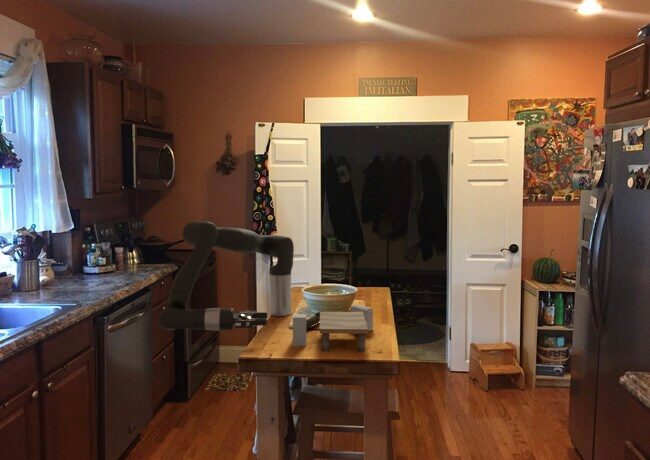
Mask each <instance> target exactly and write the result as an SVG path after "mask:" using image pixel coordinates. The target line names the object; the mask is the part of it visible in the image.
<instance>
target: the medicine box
mask: <svg viewBox="0 0 650 460" xmlns="http://www.w3.org/2000/svg"><path fill="white" fill-rule="evenodd" d="M350 312H363V314H364V317H365V321H366V324H367V328H368V332H370V331H373V330H374V308H373V307H370V306H366V305H361V304H356V305H352V306H350Z"/></svg>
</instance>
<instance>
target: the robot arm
mask: <svg viewBox="0 0 650 460" xmlns="http://www.w3.org/2000/svg"><path fill="white" fill-rule="evenodd" d="M182 237H183V239H184V240H183V241H185V242H186V243H187V244H188V245H190V246H192V247H194V248H193V250H192V252H191V254H190V256H189V258H188V259H187V261H186V262H185V263H184V264H183V265H182V267H181V268H180V269H179V270H178V272H177V273H176V274H175V277H174V278H173V281H172V284H171V286H170V290H169V292H168V297H167V298H168V301H167V304H166V307H165V309H162V310H161V311H160V312H159V314H158V316H157V323H158V325H159V326H160V328H162V329H164V330H167V331H176V330H178V329H180V330H182V329H183V330H184V329H185V330H186V329H189V330H195V331H197V330H198V331H201V330H202V331H203V330H204V331H205V330H207V331H208V330H209V331H233V330H234V328H235V329H254V327H256V326H260V327H261V326H262V327H263V326H267V324H268V323H267V321H268V320H267V319H268V312H264V311H261V312H257V311H256V310H238V311H237V313H235V309H234V308H233V307H211V308H191V309H188V308H187V305H188V302H189V299H190V297H191V295H192V292H193V288H194V287H195V286H194V285H195V283H196V281H197V279H198V276H199V273H200V271H201V270H202V268H203V266H204V264H205V262H206V260H207V258H208V257H209V255H210V253H211V252H212V250H213V248H214V247H215V248H219V249H222V250H226V251H230V252H236V253H243V254H254V253H259V254H263V255H266V256H269V257H272V258H277V261H276V264H274V265H272V266H270V267H269V271H268V272H269V274H268V275H269V316H270V315H271V316H275V317H285V316H290V315H291V314H292V270H293V265H294V250H295V249H294V241H293V240H292V238H291V237H289V236H286V235H262V234H258V233H256V231H252V230H249V229H246V228H241V227H238V228H237V227H223V226H222V227H221V226H219V227H217V225H216V224H214V223H213V222H211V221H203V220H193V221H190V222H189V223H186V224H185V226H184V227H183V230H182Z"/></svg>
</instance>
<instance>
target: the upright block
mask: <svg viewBox="0 0 650 460" xmlns="http://www.w3.org/2000/svg"><path fill="white" fill-rule="evenodd" d="M292 315H293V316H292V346H293V347H306V346H307V331H306V320H307V314H305V313H293V314H292Z"/></svg>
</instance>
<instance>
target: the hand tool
mask: <svg viewBox="0 0 650 460" xmlns="http://www.w3.org/2000/svg"><path fill="white" fill-rule="evenodd" d="M320 312H325V311H324V310H320V311H317V312H315V314H314V315H313V316H312V317H310V318H308V319H306V332H307V331H308V330H309V329H311V328H312V327H311V326H312V325H314V324H316V323H318V322H319V321H320Z"/></svg>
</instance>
